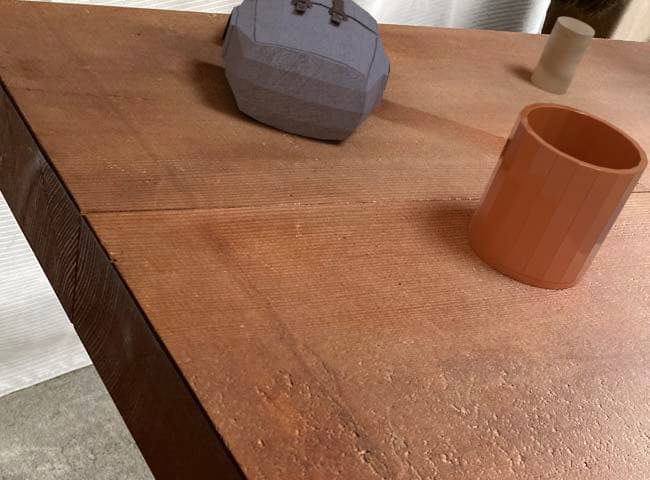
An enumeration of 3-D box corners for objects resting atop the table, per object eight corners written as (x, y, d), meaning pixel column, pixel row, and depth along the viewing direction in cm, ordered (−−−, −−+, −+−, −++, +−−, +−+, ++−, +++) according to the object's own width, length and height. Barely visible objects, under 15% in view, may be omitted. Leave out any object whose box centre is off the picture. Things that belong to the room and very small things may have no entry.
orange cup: (578, 239, 85) (639, 129, 77) (588, 303, 78) (656, 188, 70) (466, 204, 84) (518, 89, 77) (466, 265, 77) (522, 145, 70)
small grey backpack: (371, 160, 85) (374, 69, 99) (405, 64, 79) (403, -19, 93) (202, 112, 84) (228, 26, 97) (224, 9, 78) (249, -66, 91)
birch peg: (556, 101, 105) (593, 24, 100) (558, 116, 103) (596, 38, 97) (521, 90, 105) (556, 12, 99) (523, 105, 102) (558, 26, 97)
